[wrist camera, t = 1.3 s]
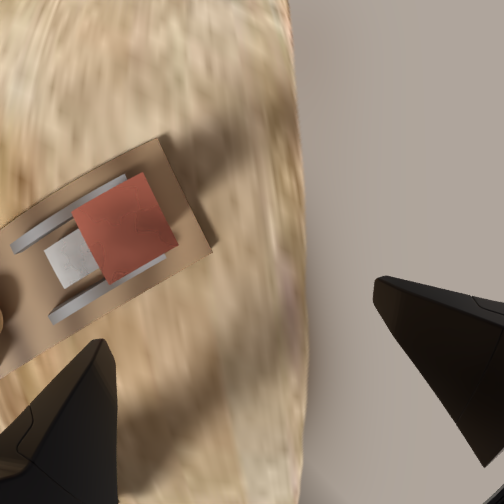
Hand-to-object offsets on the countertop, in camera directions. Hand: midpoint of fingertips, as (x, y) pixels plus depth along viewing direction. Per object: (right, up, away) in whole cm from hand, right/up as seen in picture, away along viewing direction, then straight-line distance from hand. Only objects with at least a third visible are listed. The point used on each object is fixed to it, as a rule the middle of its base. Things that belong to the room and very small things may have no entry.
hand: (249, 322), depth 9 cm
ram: (-11, +3, +11) cm, 16 cm away
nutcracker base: (-15, +1, +11) cm, 19 cm away
